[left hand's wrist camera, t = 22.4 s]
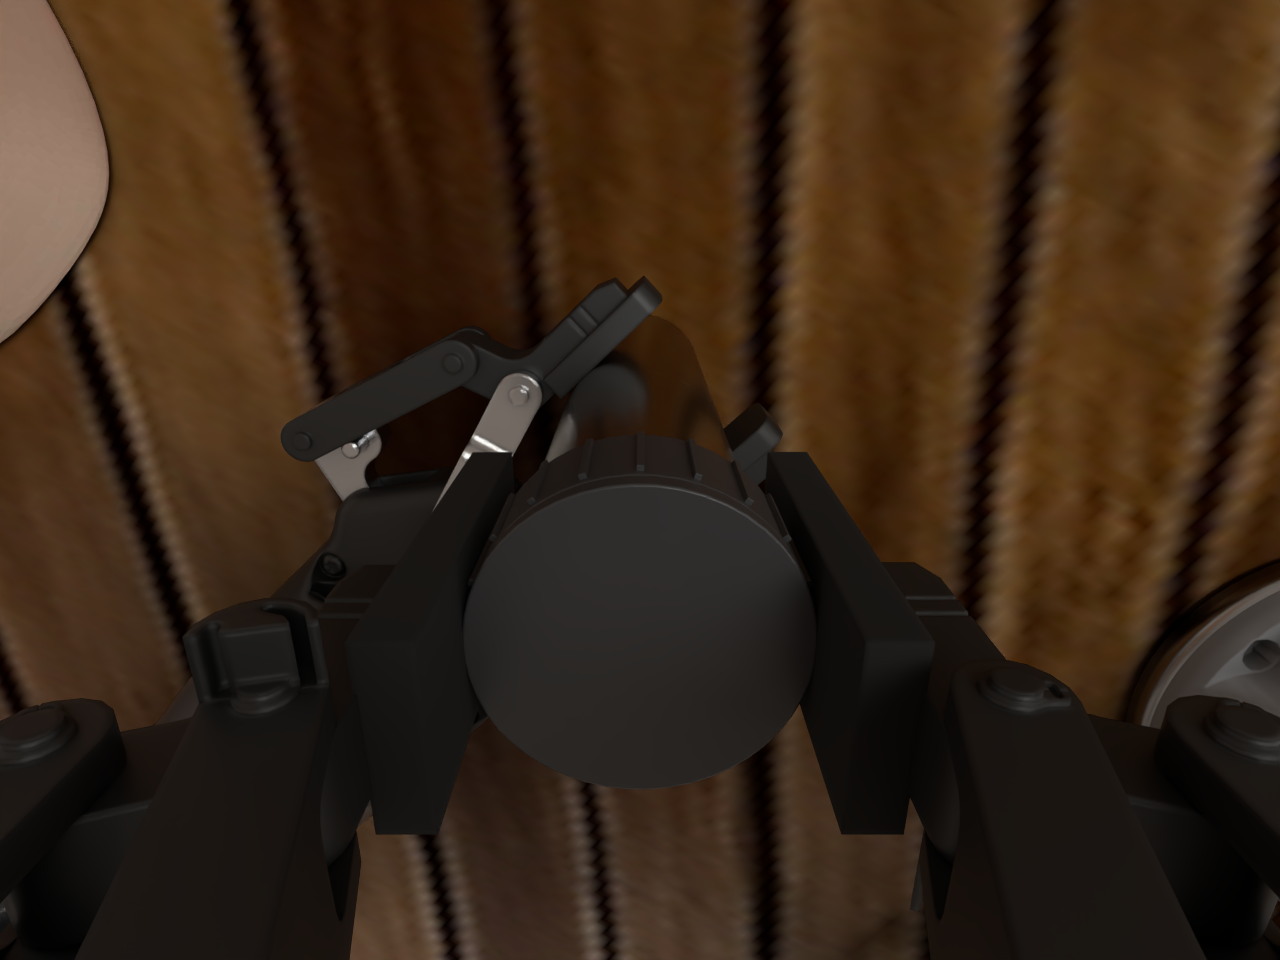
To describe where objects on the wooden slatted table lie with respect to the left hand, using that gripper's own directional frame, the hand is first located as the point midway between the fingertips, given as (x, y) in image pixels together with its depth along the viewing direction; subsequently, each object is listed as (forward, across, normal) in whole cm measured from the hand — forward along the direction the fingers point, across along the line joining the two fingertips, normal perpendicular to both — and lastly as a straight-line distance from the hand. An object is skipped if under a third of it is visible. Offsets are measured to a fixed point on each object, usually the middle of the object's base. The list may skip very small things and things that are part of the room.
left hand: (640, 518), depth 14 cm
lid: (-4, 0, 0) cm, 4 cm away
